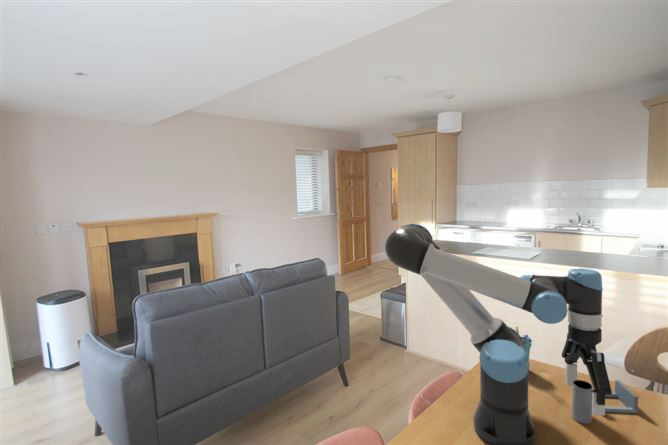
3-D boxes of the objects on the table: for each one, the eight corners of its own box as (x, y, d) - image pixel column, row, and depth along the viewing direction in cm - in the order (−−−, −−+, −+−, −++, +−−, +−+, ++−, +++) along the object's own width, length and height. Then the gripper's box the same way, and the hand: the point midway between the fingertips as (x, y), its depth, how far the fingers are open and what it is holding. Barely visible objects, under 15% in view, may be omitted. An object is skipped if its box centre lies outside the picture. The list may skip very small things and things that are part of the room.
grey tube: (582, 425, 97) (583, 390, 96) (568, 415, 101) (568, 381, 100) (595, 422, 98) (596, 387, 97) (580, 412, 103) (581, 378, 101)
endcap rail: (595, 411, 103) (595, 395, 102) (579, 394, 111) (579, 378, 111) (637, 413, 101) (638, 396, 101) (618, 395, 109) (618, 380, 109)
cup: (542, 380, 119) (542, 338, 118) (518, 380, 120) (518, 338, 118) (522, 360, 133) (523, 321, 132) (501, 360, 134) (501, 322, 132)
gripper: (630, 346, 84) (629, 429, 86) (575, 309, 109) (575, 375, 111) (596, 345, 85) (595, 428, 87) (549, 309, 110) (549, 374, 112)
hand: (584, 398), depth 99 cm, fingers open, 13 cm apart
